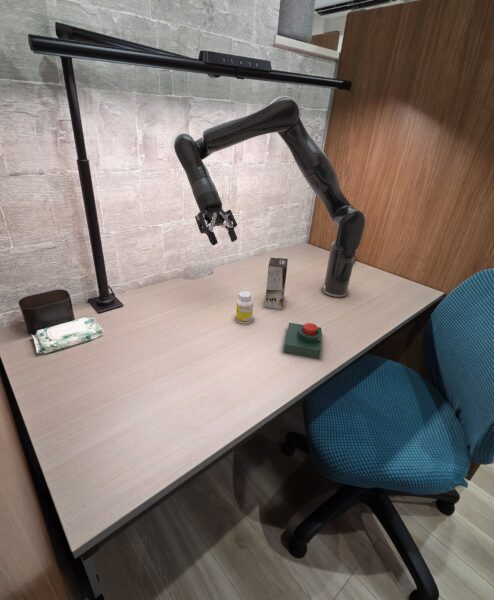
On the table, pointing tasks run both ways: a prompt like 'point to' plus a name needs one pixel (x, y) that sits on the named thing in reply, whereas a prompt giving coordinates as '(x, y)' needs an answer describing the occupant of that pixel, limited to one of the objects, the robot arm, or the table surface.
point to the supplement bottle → (244, 307)
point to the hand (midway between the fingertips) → (225, 242)
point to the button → (310, 329)
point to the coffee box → (276, 282)
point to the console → (302, 342)
